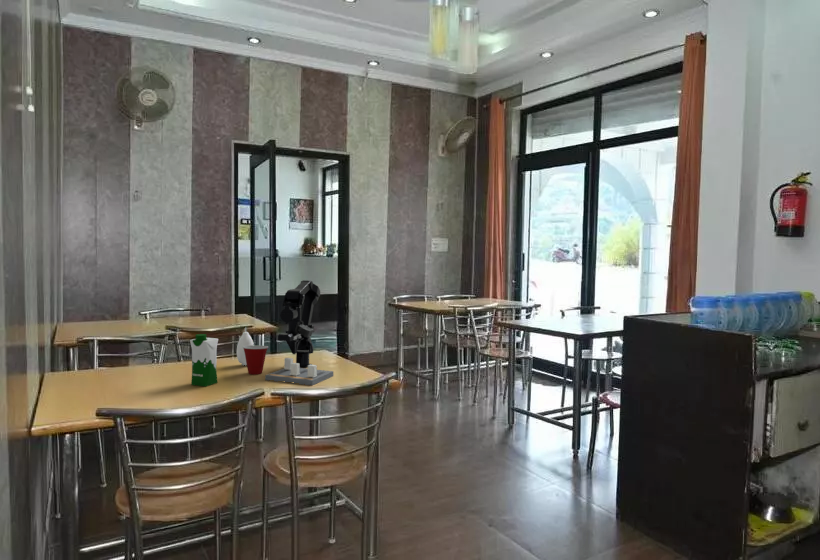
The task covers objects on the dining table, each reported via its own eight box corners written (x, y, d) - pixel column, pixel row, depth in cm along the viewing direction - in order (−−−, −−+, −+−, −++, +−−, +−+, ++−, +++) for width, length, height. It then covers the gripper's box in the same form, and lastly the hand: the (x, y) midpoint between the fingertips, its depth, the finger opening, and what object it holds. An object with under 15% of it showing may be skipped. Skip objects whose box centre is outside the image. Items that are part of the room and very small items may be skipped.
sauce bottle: (233, 366, 257) (233, 327, 256) (244, 363, 264) (244, 324, 263) (247, 367, 254) (247, 328, 253) (258, 364, 261) (258, 326, 260)
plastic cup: (271, 370, 249) (272, 344, 248) (263, 376, 238) (263, 348, 238) (248, 369, 250) (248, 343, 249) (238, 375, 239) (238, 347, 239)
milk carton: (187, 385, 221) (187, 334, 220) (203, 380, 230) (203, 331, 229) (206, 387, 218) (206, 336, 217) (221, 382, 227) (221, 333, 226)
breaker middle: (293, 373, 235) (293, 362, 235) (300, 374, 234) (300, 363, 234) (289, 374, 232) (290, 363, 232) (296, 375, 231) (296, 364, 231)
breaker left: (310, 375, 232) (310, 364, 232) (317, 376, 231) (317, 364, 231) (307, 376, 229) (307, 365, 229) (313, 377, 228) (313, 366, 228)
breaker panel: (288, 371, 249) (288, 366, 249) (333, 375, 242) (333, 371, 242) (265, 380, 232) (265, 375, 232) (312, 385, 225) (312, 380, 225)
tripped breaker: (287, 367, 245) (287, 357, 245) (293, 368, 244) (293, 358, 244) (283, 369, 242) (283, 358, 242) (289, 369, 241) (289, 359, 241)
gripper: (299, 323, 235) (299, 360, 236) (321, 317, 252) (320, 352, 253) (276, 321, 238) (276, 357, 239) (299, 315, 256) (299, 349, 257)
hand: (294, 354), depth 247 cm, fingers closed
